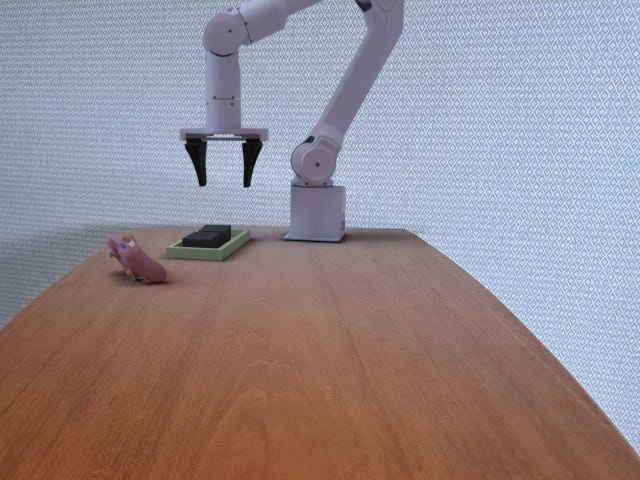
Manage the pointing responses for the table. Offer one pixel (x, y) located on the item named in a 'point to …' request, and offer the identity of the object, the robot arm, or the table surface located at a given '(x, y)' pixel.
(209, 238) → the pad seated
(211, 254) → the holder
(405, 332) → the table surface
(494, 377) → the table surface
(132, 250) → the video game controller
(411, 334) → the table surface
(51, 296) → the table surface
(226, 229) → the pad loose
